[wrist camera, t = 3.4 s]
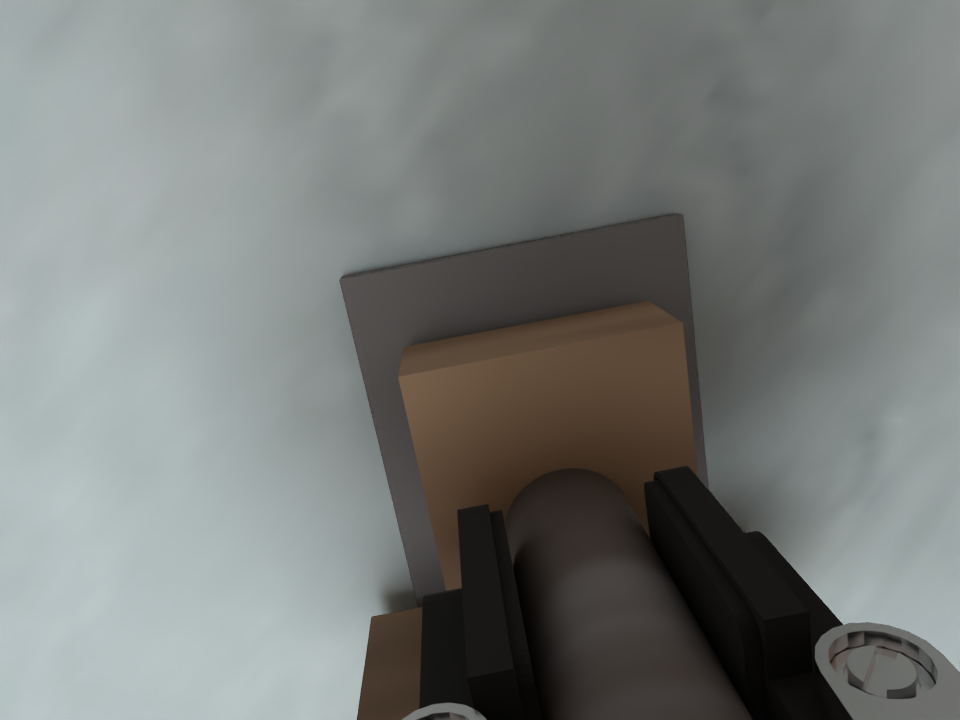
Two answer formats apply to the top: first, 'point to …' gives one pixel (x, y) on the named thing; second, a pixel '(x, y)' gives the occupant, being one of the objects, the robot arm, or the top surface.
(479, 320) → the track
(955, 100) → the top surface
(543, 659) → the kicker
